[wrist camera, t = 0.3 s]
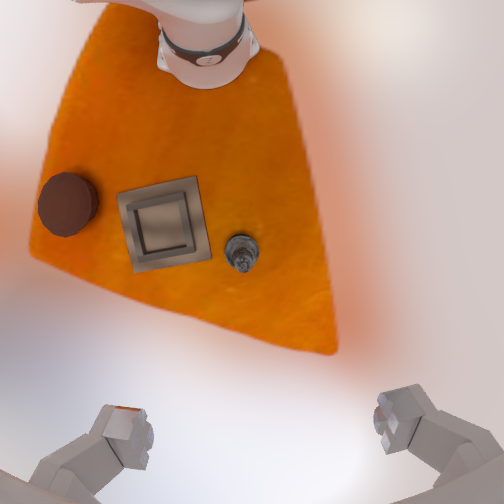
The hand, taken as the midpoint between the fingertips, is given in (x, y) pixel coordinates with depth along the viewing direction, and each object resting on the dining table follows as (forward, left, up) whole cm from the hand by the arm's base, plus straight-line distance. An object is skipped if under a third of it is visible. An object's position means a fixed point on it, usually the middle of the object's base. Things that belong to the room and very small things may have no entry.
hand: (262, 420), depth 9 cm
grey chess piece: (+5, 0, -47) cm, 47 cm away
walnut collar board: (-2, -13, -47) cm, 48 cm away
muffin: (-10, -29, -47) cm, 56 cm away
